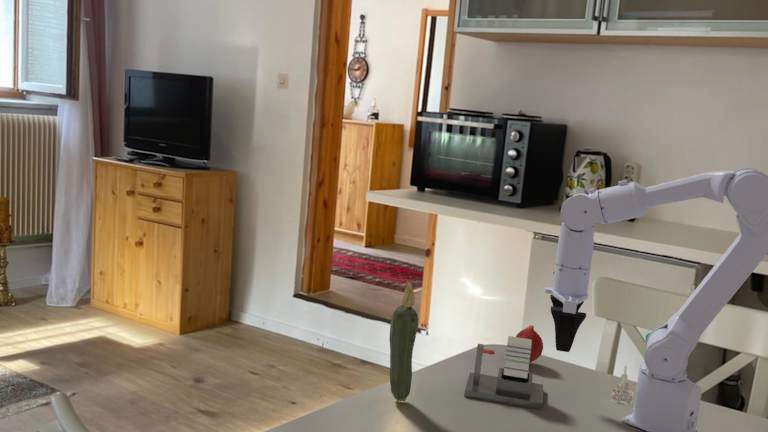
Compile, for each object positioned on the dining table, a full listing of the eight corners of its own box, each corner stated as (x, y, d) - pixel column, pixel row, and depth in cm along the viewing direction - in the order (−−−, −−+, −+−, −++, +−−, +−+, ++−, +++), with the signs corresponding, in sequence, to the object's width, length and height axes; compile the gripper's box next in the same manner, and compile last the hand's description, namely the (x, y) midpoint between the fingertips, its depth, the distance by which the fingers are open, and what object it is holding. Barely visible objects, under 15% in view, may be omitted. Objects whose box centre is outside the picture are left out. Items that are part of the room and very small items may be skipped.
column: (527, 370, 129) (531, 339, 128) (527, 378, 125) (531, 346, 124) (504, 367, 129) (508, 335, 129) (503, 374, 126) (507, 342, 125)
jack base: (542, 390, 131) (548, 347, 130) (541, 410, 122) (548, 363, 121) (469, 378, 134) (474, 336, 132) (464, 396, 125) (469, 351, 124)
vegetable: (406, 410, 117) (419, 287, 114) (380, 405, 118) (392, 284, 115) (411, 400, 121) (424, 281, 118) (385, 395, 122) (397, 278, 119)
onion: (508, 365, 143) (513, 326, 142) (512, 357, 148) (517, 318, 147) (539, 371, 141) (544, 331, 140) (541, 362, 147) (546, 323, 145)
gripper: (548, 254, 131) (538, 328, 133) (548, 270, 117) (537, 353, 119) (589, 260, 129) (578, 334, 131) (594, 276, 115) (582, 360, 117)
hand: (562, 343), depth 125 cm, fingers open, 7 cm apart
